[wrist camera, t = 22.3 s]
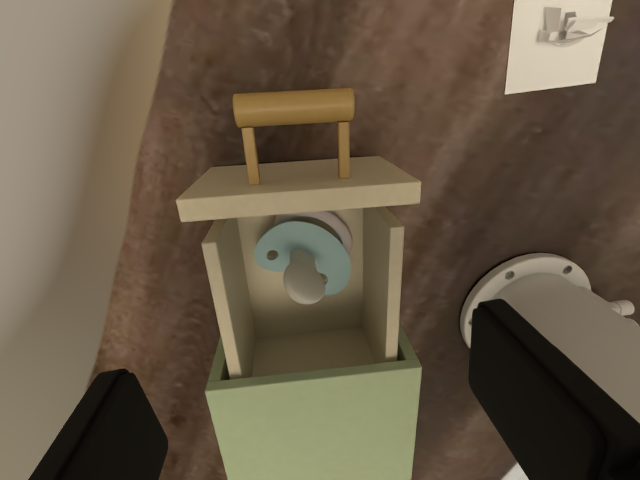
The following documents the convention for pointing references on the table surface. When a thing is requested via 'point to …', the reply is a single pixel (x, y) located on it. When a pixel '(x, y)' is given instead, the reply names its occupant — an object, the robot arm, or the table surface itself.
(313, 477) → the cabinet
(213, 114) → the table surface
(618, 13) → the table surface
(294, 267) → the pacifier
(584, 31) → the adhesive hook
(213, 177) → the drawer
